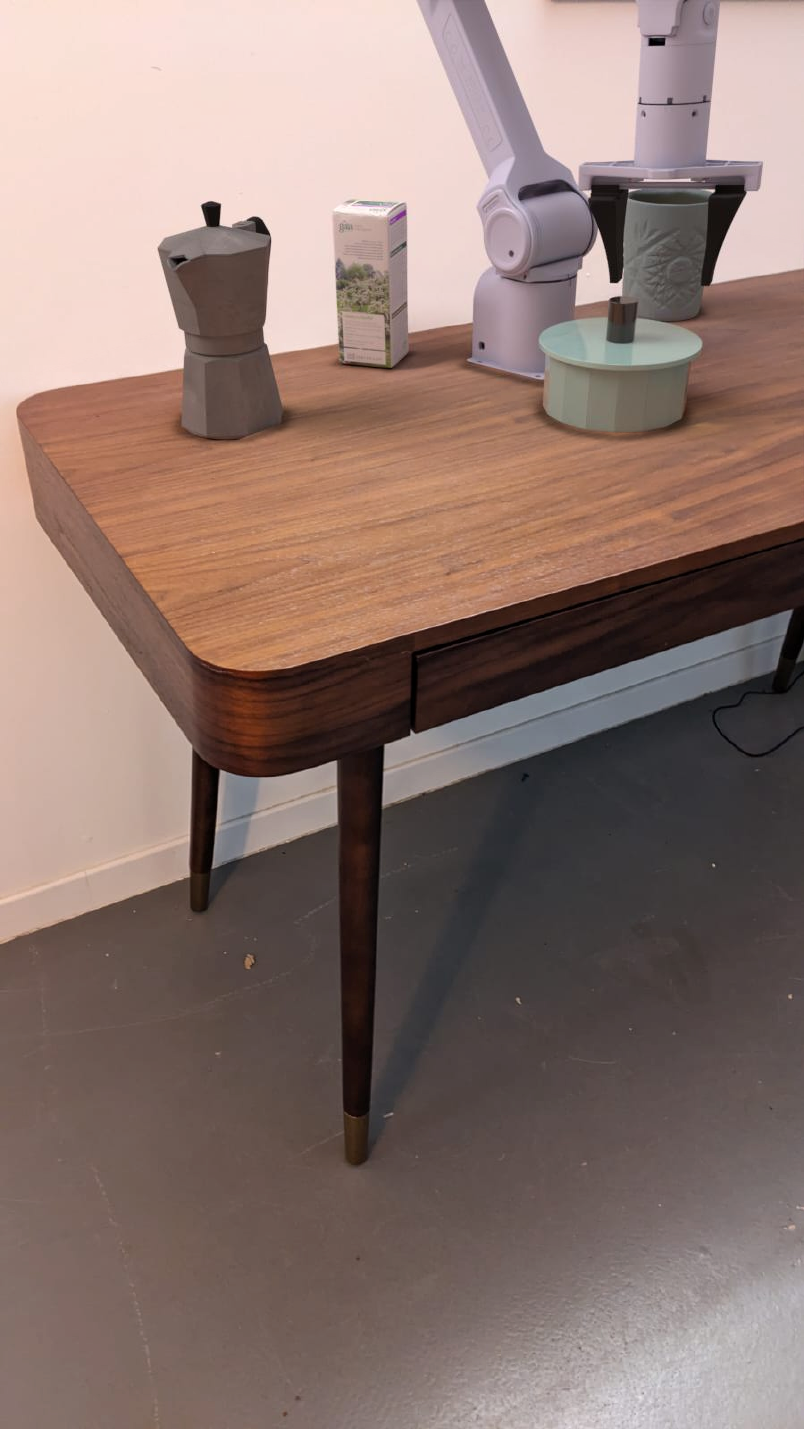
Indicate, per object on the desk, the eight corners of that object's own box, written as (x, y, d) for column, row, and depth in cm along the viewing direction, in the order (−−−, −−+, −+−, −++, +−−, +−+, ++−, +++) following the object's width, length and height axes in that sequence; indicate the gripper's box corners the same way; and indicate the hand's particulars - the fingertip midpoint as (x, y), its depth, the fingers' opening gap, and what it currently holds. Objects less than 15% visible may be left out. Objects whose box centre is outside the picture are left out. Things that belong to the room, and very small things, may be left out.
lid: (506, 356, 96) (508, 303, 94) (596, 320, 105) (600, 271, 102) (645, 390, 89) (652, 333, 86) (730, 348, 97) (738, 296, 95)
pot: (516, 416, 99) (519, 348, 96) (593, 381, 107) (598, 317, 103) (634, 449, 93) (642, 377, 89) (708, 409, 100) (718, 342, 97)
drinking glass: (684, 328, 121) (699, 207, 114) (597, 315, 125) (607, 198, 118) (717, 305, 127) (733, 191, 121) (634, 294, 132) (645, 183, 125)
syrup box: (410, 352, 115) (408, 199, 107) (391, 370, 110) (388, 211, 102) (358, 348, 116) (352, 196, 108) (337, 365, 112) (329, 208, 104)
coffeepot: (244, 455, 93) (222, 222, 83) (147, 440, 96) (113, 214, 86) (323, 395, 105) (312, 185, 94) (234, 384, 108) (213, 179, 97)
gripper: (571, 108, 88) (566, 290, 95) (764, 104, 83) (742, 295, 91) (591, 100, 93) (585, 272, 101) (773, 96, 89) (752, 276, 96)
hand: (660, 282), depth 96 cm, fingers open, 7 cm apart
